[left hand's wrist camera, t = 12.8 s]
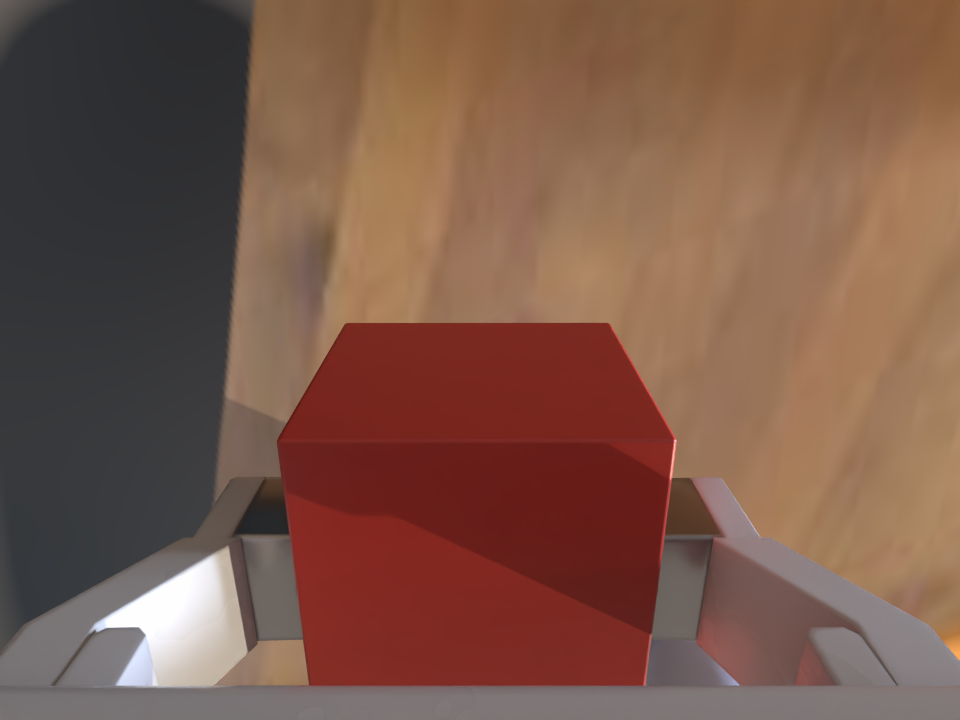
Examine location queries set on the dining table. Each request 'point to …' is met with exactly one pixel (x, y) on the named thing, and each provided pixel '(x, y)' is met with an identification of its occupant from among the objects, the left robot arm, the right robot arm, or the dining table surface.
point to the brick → (477, 507)
